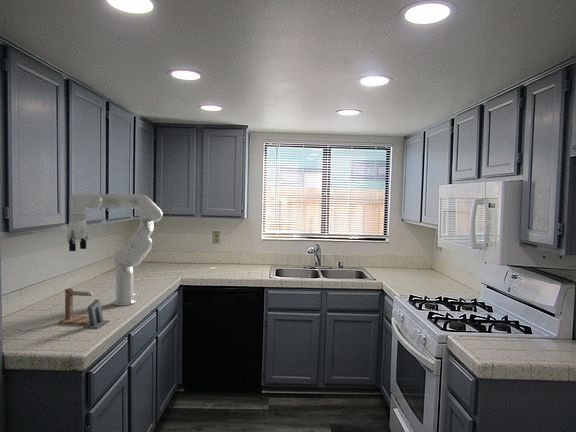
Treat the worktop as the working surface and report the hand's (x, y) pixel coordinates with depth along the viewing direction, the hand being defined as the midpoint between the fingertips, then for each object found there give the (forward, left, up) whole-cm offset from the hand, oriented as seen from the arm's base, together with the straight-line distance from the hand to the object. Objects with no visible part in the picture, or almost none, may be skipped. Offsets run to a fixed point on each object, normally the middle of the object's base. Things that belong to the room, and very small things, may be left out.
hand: (77, 249), depth 224 cm
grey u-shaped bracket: (+19, +21, -33) cm, 44 cm away
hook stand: (+16, +10, -33) cm, 38 cm away
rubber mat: (+20, +21, -33) cm, 44 cm away
